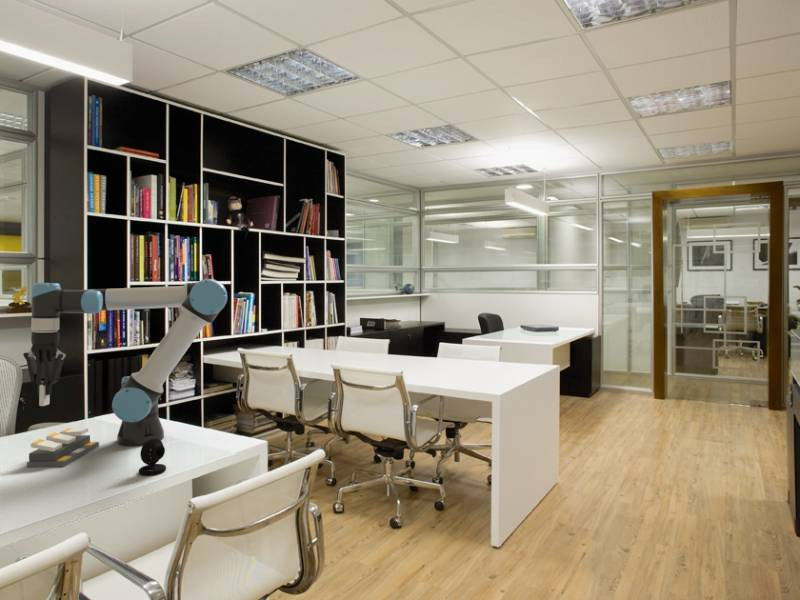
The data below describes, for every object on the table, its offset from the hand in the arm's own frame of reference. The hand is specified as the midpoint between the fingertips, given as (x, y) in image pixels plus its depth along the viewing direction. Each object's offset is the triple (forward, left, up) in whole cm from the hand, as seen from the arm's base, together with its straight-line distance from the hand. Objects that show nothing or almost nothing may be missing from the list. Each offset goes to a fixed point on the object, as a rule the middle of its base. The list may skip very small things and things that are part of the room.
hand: (44, 404), depth 177 cm
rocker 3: (-4, -10, -11) cm, 15 cm away
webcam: (-40, +14, -17) cm, 46 cm away
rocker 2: (-4, -2, -11) cm, 12 cm away
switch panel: (-5, -2, -17) cm, 18 cm away
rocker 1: (-4, +6, -11) cm, 13 cm away
